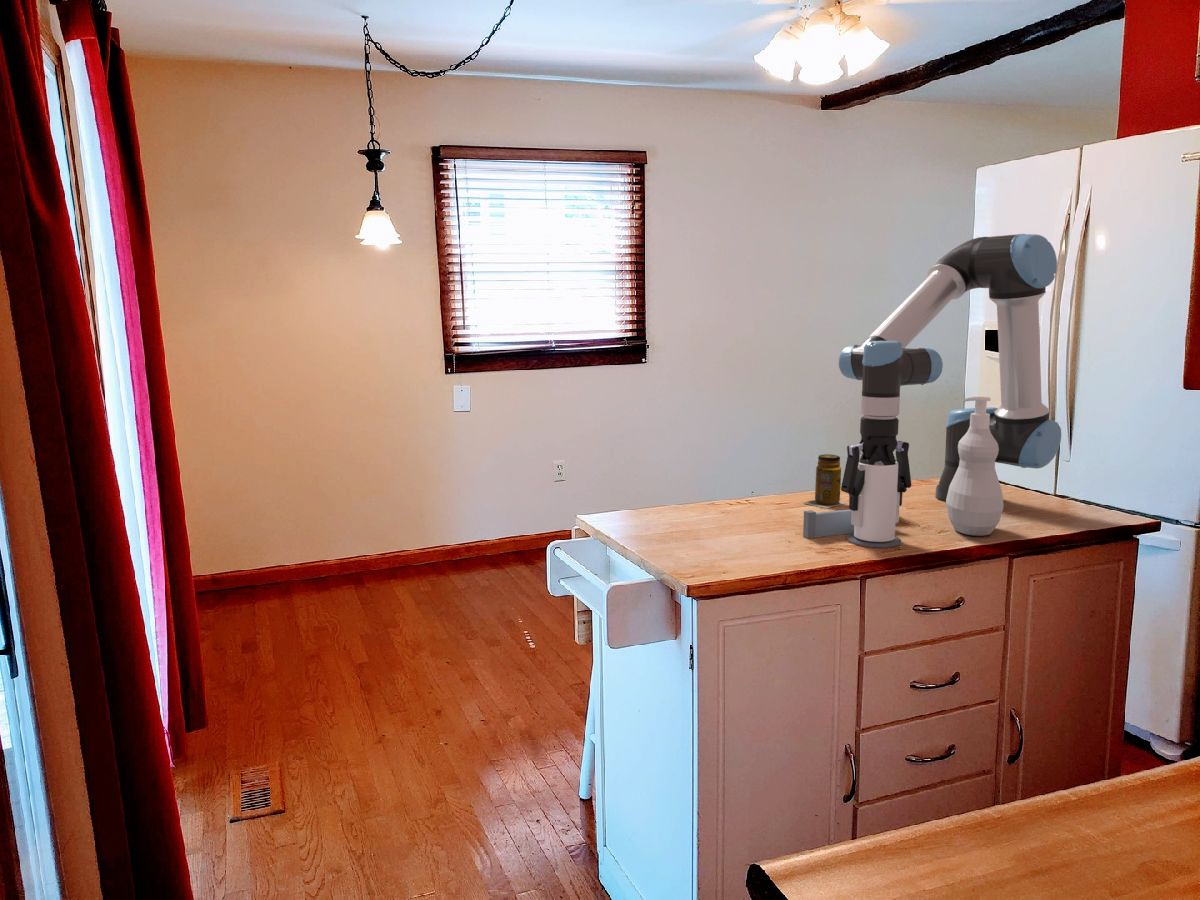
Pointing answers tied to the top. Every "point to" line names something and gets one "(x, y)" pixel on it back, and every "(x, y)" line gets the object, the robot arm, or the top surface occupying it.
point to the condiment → (827, 482)
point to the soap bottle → (976, 478)
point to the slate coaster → (887, 544)
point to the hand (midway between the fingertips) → (874, 523)
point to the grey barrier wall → (827, 523)
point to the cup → (878, 502)
